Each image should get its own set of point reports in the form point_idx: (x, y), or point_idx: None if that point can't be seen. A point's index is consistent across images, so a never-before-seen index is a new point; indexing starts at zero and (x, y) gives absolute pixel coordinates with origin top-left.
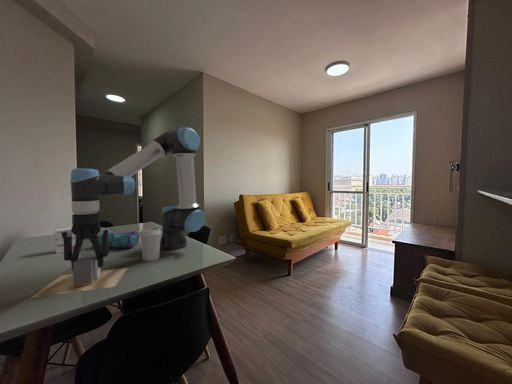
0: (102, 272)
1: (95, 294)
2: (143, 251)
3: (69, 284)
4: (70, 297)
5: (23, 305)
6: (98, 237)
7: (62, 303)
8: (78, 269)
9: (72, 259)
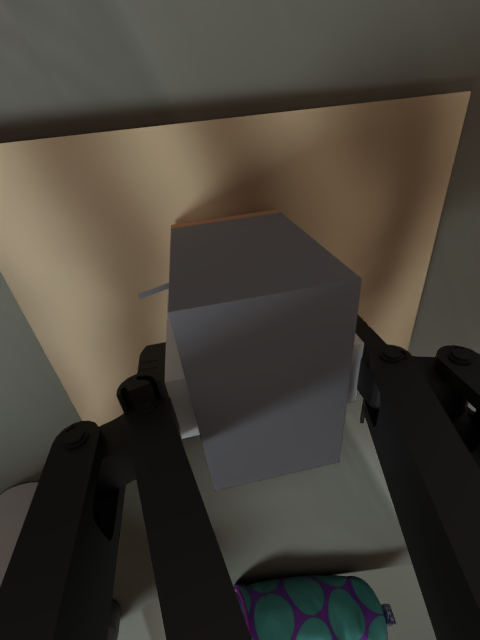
0: None
1: (86, 120)
2: None
3: None
4: (244, 112)
5: (470, 63)
6: (385, 619)
7: (249, 14)
8: (280, 255)
9: (397, 358)
